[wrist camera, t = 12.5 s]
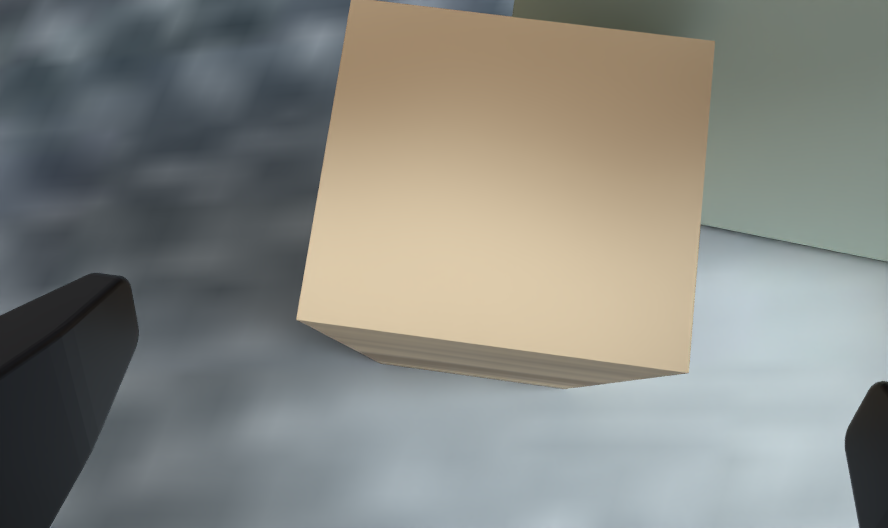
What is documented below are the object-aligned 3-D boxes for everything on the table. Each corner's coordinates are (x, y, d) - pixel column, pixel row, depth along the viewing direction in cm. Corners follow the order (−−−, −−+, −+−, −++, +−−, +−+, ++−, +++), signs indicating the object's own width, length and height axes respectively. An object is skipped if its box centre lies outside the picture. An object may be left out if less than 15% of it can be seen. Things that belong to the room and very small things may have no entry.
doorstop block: (565, 388, 20) (688, 372, 10) (380, 363, 21) (296, 319, 10) (582, 225, 21) (714, 41, 10) (404, 202, 21) (351, -3, 11)
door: (488, 181, 21) (529, -107, 9) (509, 80, 21) (575, -317, 10) (932, 270, 20) (1596, 86, 8) (943, 163, 21) (1583, -150, 9)
